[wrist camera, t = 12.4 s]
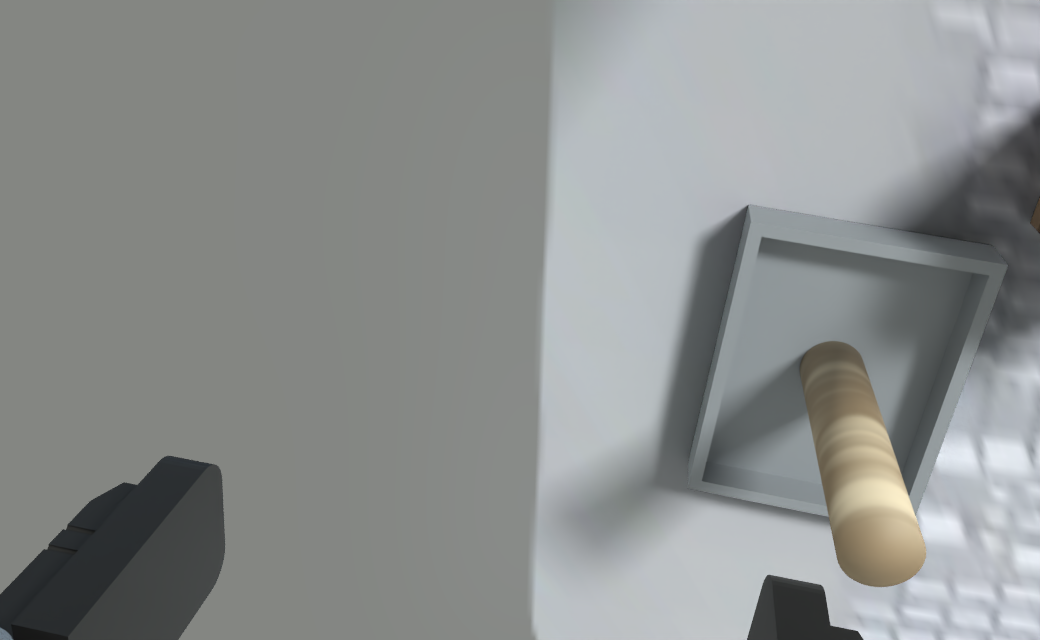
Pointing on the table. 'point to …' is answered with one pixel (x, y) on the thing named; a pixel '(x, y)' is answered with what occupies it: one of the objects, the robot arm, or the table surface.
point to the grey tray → (845, 318)
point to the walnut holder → (1036, 217)
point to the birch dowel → (859, 470)
